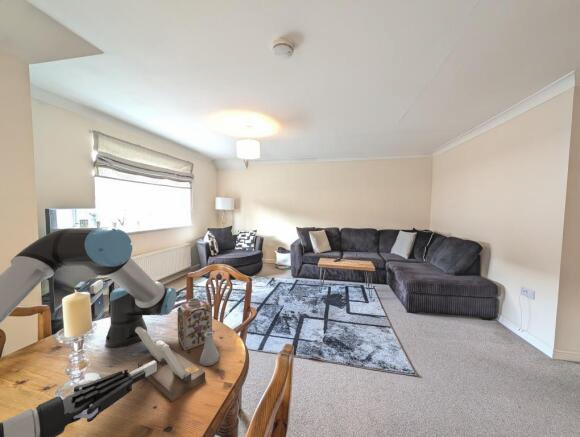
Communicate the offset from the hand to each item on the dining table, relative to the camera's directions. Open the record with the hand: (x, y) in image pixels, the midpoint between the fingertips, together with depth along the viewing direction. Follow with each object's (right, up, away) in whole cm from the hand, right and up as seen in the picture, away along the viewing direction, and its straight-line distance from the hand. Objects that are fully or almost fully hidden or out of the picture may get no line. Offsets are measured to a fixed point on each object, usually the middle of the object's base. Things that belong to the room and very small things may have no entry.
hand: (155, 365), depth 67 cm
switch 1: (-7, -8, +15) cm, 19 cm away
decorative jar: (-2, -10, +32) cm, 34 cm away
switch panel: (-1, -10, +11) cm, 15 cm away
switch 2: (+5, -8, +7) cm, 11 cm away
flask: (+9, -10, +18) cm, 23 cm away
